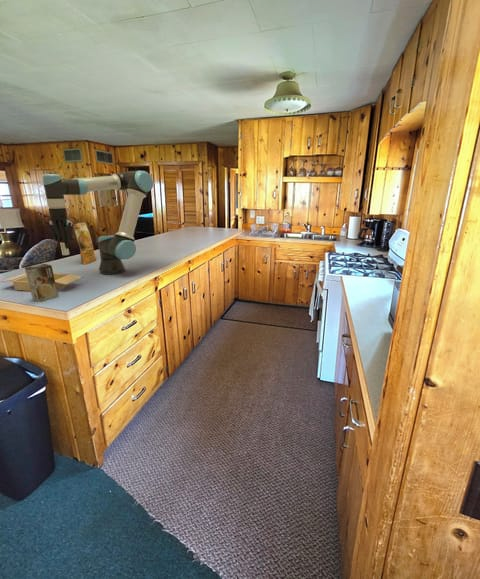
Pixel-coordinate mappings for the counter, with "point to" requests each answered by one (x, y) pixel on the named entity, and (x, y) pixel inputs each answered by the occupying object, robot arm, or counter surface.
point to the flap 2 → (67, 279)
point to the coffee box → (41, 282)
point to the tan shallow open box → (24, 285)
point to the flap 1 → (15, 277)
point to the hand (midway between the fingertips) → (66, 254)
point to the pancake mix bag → (84, 242)
